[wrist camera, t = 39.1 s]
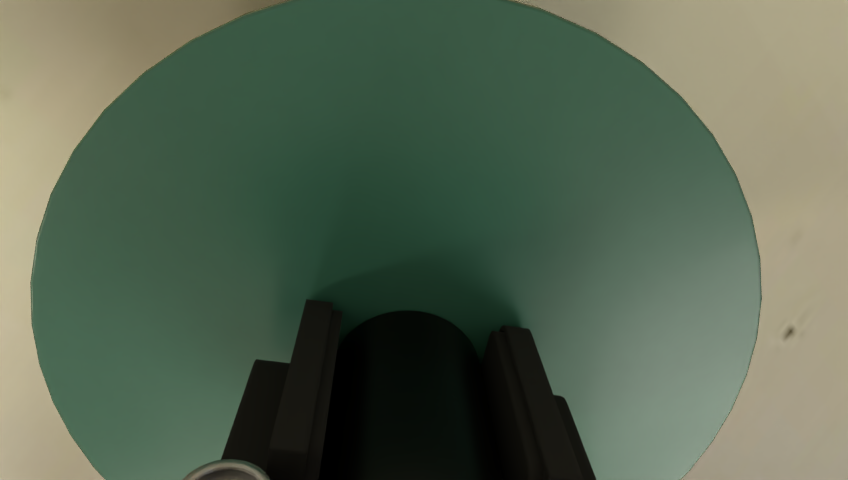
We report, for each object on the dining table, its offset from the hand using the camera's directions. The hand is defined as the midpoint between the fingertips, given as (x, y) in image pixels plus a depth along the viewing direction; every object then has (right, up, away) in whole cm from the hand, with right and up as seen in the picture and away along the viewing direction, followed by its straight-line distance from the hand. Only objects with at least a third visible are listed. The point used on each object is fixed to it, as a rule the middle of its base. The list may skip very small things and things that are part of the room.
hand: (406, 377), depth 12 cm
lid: (0, 0, +1) cm, 1 cm away
